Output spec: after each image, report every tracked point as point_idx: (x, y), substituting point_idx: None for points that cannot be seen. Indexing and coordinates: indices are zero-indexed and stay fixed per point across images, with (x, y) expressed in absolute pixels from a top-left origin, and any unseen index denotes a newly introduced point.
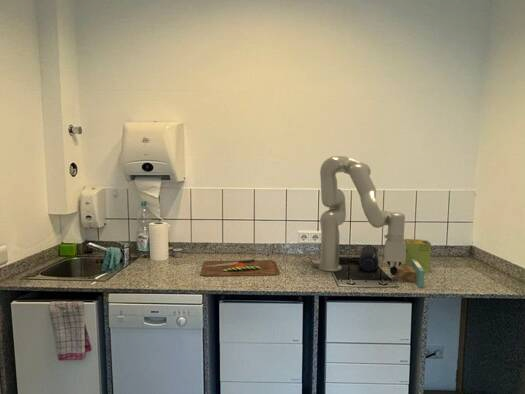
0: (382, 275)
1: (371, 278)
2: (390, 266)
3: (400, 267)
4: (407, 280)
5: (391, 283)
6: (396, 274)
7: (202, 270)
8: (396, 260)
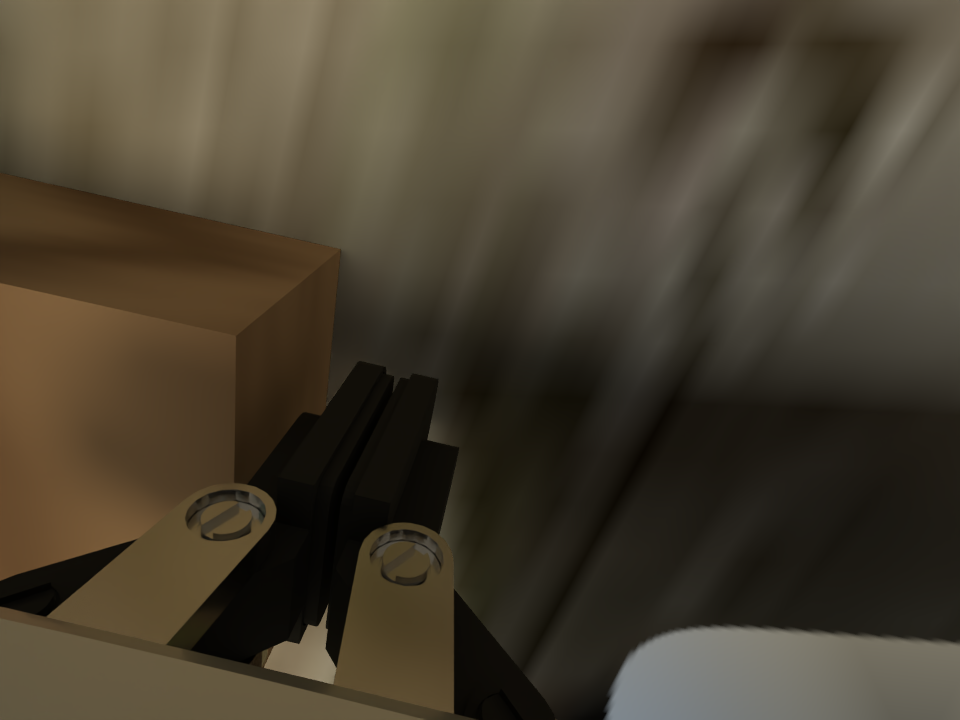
0: (529, 582)
1: (831, 454)
2: (452, 557)
3: None
4: (138, 217)
5: (544, 111)
6: None
7: None
8: (41, 710)
